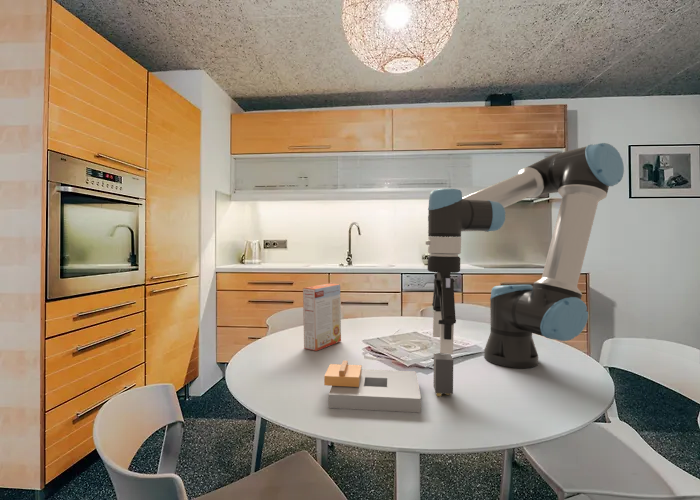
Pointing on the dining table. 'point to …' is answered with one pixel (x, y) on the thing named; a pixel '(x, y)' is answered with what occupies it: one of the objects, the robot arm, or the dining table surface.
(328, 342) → the cracker box
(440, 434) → the dining table surface
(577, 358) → the dining table surface
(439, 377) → the plug
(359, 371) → the orange ridged block
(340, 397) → the socket plate
